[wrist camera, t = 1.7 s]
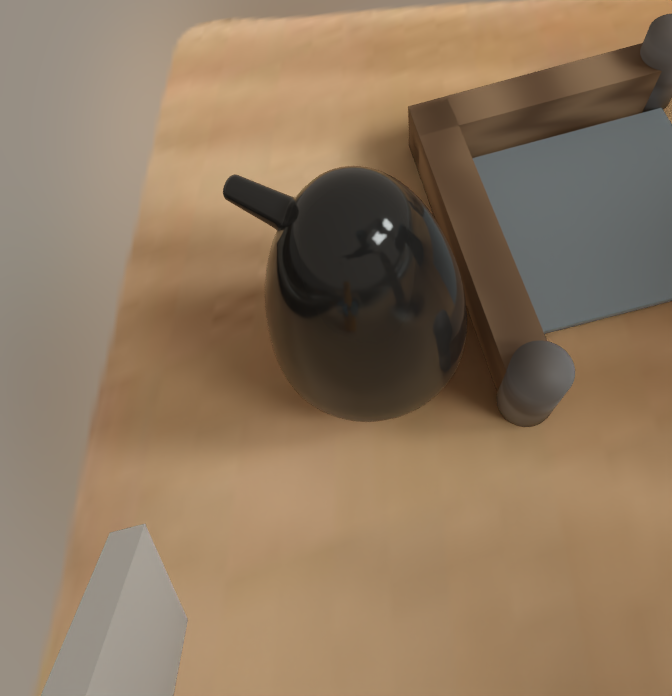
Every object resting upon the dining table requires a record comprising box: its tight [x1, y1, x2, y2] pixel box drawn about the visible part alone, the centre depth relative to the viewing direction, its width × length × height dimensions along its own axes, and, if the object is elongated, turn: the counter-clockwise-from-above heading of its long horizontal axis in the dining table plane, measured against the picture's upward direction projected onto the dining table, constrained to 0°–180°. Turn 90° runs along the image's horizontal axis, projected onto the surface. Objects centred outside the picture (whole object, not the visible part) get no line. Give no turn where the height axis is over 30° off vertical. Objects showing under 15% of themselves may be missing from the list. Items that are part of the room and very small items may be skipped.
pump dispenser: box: [223, 166, 467, 422], centre depth 28 cm, size 10×10×15 cm
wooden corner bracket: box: [408, 14, 672, 427], centre depth 34 cm, size 18×21×5 cm
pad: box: [472, 108, 672, 334], centre depth 36 cm, size 13×13×1 cm
